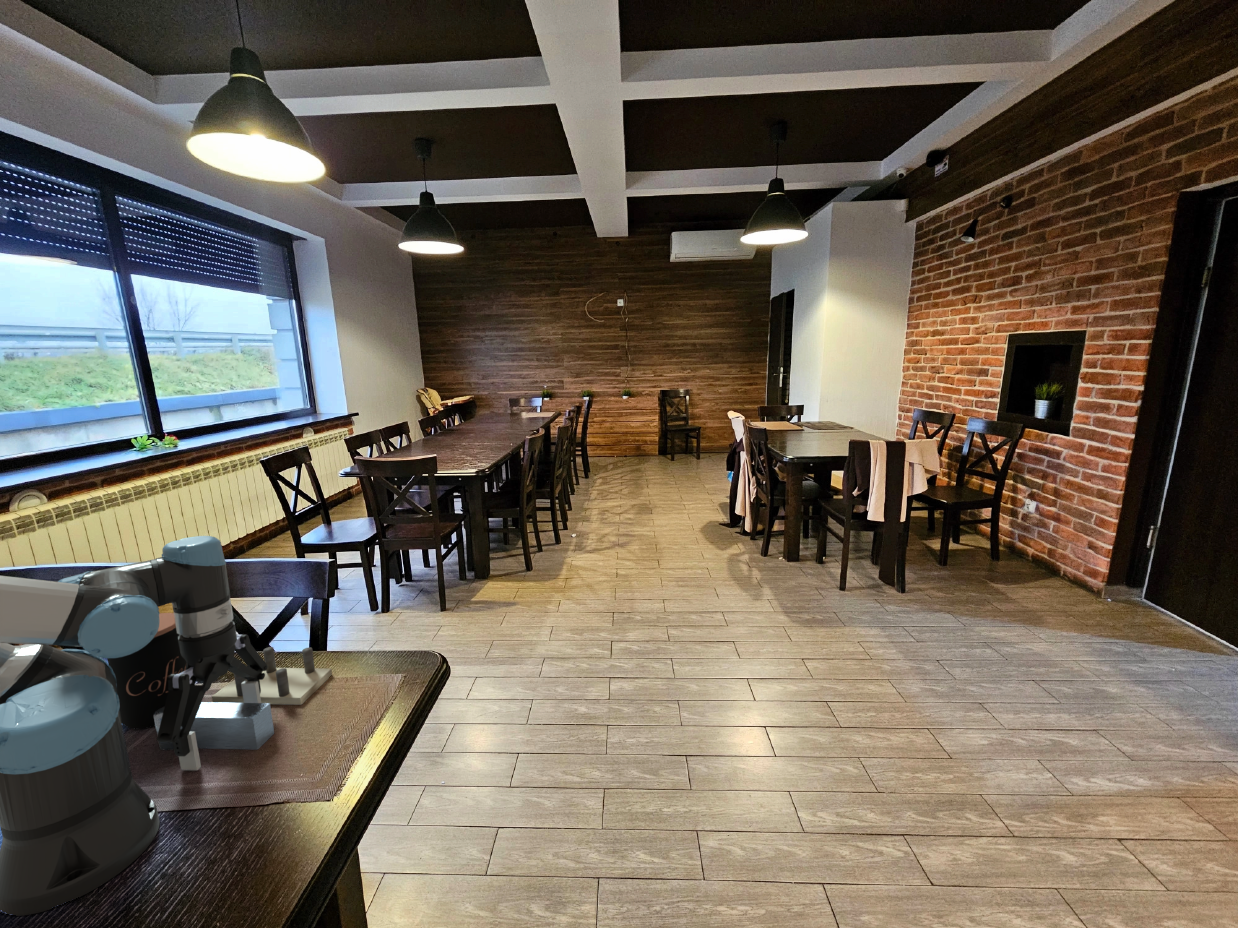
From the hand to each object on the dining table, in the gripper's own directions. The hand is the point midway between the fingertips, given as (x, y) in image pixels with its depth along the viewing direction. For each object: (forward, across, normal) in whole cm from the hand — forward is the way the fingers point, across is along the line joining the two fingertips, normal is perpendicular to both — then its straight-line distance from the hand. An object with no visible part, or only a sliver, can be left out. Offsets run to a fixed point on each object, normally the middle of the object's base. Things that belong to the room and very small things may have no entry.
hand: (225, 739), depth 89 cm
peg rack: (0, +15, +2) cm, 15 cm away
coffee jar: (0, +7, +19) cm, 20 cm away
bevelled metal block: (0, 0, +2) cm, 2 cm away
